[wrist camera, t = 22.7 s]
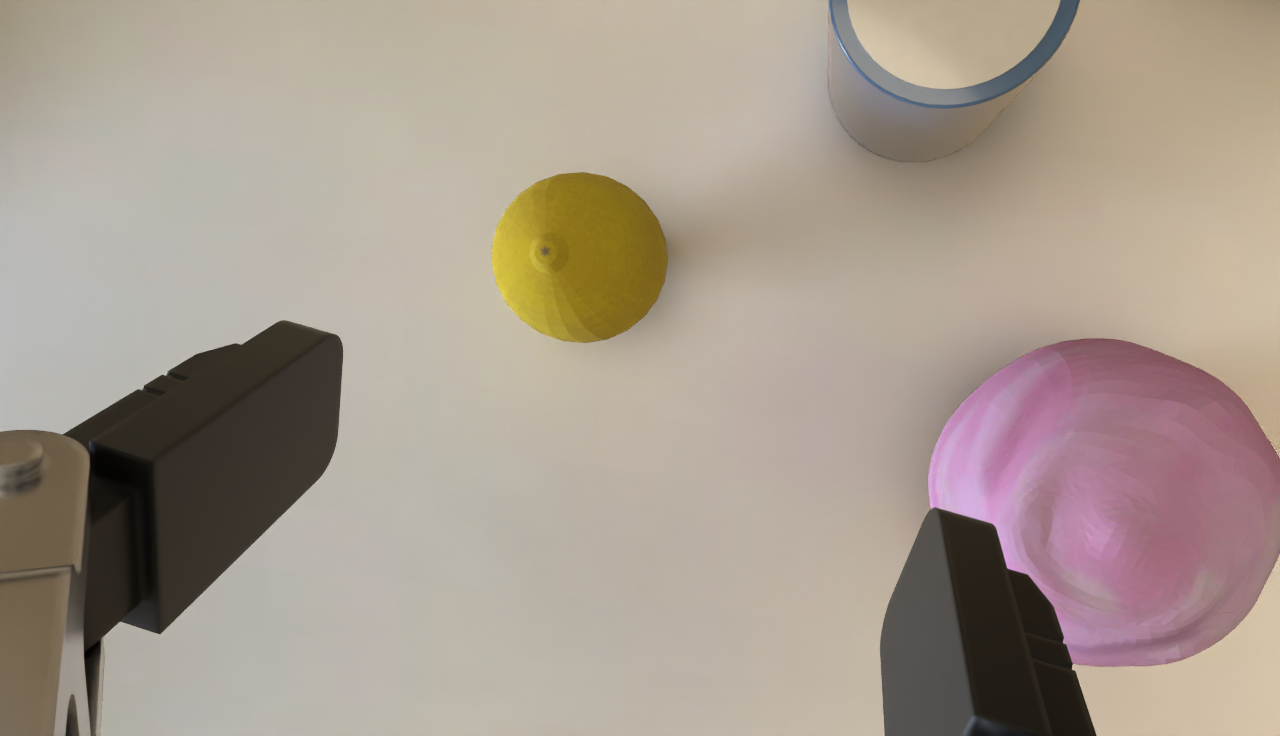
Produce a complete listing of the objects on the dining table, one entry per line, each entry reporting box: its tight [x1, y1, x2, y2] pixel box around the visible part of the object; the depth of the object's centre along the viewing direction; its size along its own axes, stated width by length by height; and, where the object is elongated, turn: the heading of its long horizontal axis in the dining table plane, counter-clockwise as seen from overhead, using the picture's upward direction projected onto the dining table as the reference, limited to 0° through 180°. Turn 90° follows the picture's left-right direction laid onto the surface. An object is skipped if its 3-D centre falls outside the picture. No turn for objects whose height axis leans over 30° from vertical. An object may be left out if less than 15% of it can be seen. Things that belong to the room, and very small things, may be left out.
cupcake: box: [928, 339, 1280, 667], centre depth 26 cm, size 9×9×10 cm
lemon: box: [492, 172, 667, 343], centre depth 30 cm, size 6×6×8 cm
